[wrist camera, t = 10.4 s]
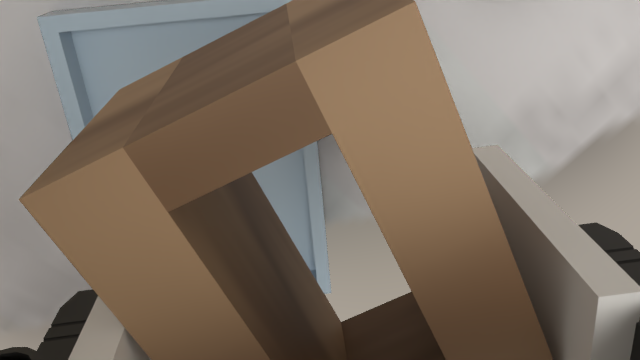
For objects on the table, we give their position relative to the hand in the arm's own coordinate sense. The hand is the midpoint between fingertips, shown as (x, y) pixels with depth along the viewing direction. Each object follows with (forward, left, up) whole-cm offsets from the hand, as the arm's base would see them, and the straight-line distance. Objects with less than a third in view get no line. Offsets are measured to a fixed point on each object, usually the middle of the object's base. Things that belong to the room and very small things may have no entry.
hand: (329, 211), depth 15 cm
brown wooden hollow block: (0, 0, 0) cm, 0 cm away
